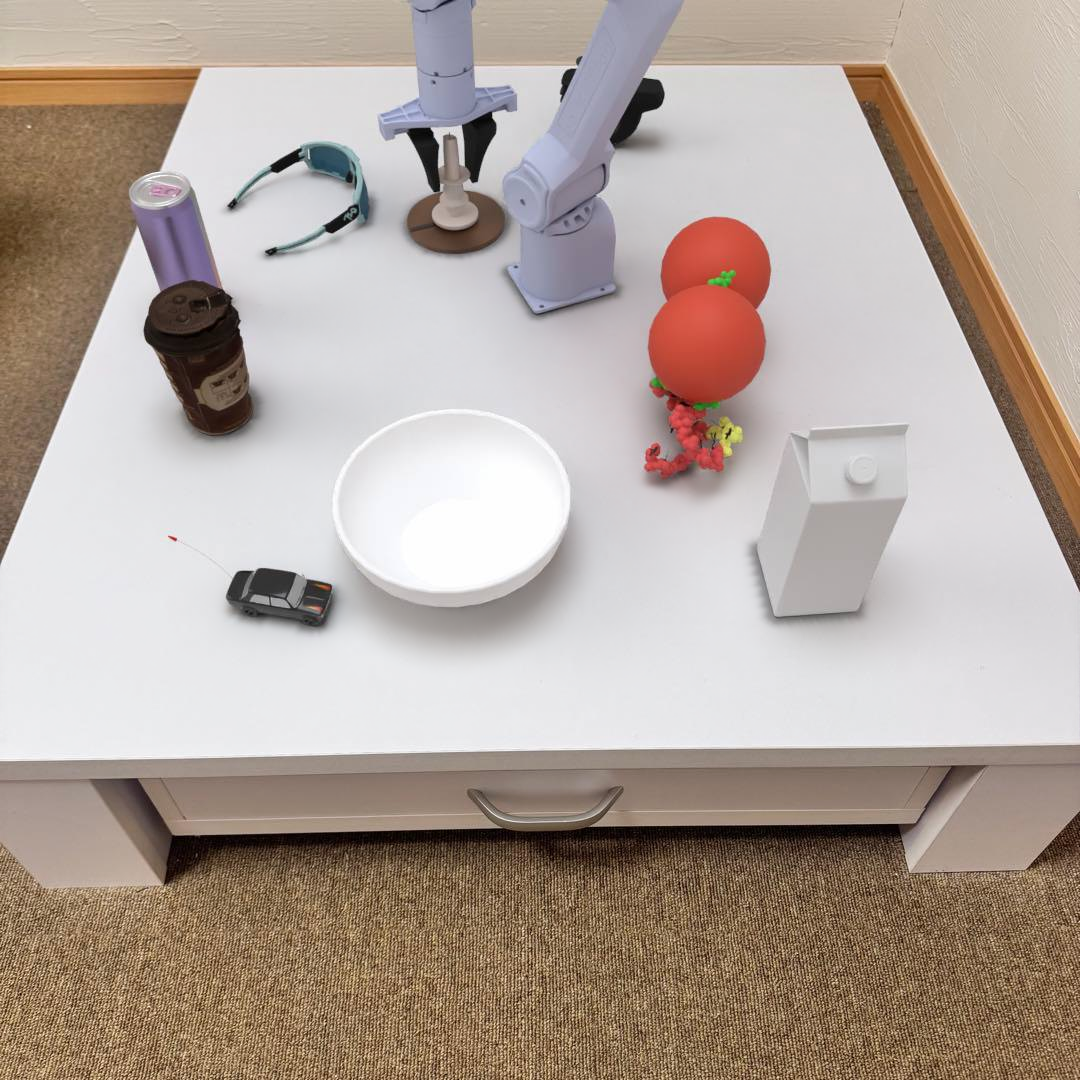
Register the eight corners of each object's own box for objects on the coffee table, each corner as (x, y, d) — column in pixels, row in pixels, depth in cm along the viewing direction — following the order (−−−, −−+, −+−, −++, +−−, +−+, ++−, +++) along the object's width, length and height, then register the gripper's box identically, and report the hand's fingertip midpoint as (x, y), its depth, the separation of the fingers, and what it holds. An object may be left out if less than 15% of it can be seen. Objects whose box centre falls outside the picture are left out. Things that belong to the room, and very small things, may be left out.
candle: (451, 196, 122) (445, 112, 113) (487, 213, 120) (484, 128, 112) (422, 219, 119) (414, 135, 111) (459, 236, 117) (453, 151, 109)
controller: (563, 126, 132) (565, 47, 124) (661, 137, 131) (669, 59, 123) (556, 145, 130) (557, 66, 122) (656, 157, 128) (664, 78, 120)
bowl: (396, 678, 84) (386, 630, 79) (311, 508, 95) (297, 455, 89) (610, 586, 90) (615, 534, 84) (507, 435, 100) (506, 380, 95)
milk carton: (755, 549, 92) (799, 393, 77) (836, 544, 93) (895, 387, 78) (773, 618, 88) (823, 466, 73) (857, 612, 88) (924, 460, 73)
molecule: (627, 306, 111) (680, 179, 100) (724, 336, 113) (788, 214, 101) (608, 475, 95) (669, 345, 83) (722, 507, 96) (798, 384, 85)
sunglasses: (394, 217, 121) (384, 181, 116) (279, 278, 117) (265, 243, 113) (336, 157, 128) (325, 121, 123) (226, 213, 124) (210, 178, 120)
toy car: (324, 630, 87) (308, 574, 81) (185, 609, 88) (159, 551, 82) (338, 592, 89) (323, 535, 83) (203, 571, 91) (178, 513, 84)
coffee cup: (283, 393, 104) (256, 287, 93) (242, 453, 99) (208, 348, 89) (204, 373, 105) (169, 266, 95) (160, 430, 101) (117, 325, 90)
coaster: (483, 185, 125) (483, 180, 124) (519, 239, 118) (519, 234, 118) (394, 207, 122) (393, 202, 121) (426, 263, 116) (426, 258, 115)
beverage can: (215, 336, 109) (176, 211, 97) (160, 328, 109) (115, 203, 97) (237, 299, 112) (202, 173, 100) (184, 291, 113) (143, 166, 101)
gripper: (498, 29, 109) (501, 148, 120) (362, 57, 106) (378, 177, 116) (524, 62, 105) (525, 182, 116) (384, 92, 102) (399, 213, 113)
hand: (453, 182), depth 116 cm, fingers closed on candle, 4 cm apart
